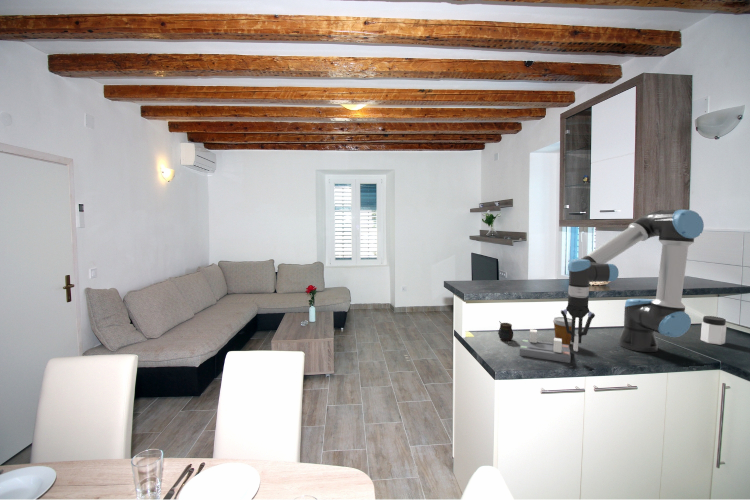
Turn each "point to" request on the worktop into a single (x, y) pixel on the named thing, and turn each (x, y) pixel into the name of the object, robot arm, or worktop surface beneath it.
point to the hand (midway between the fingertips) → (575, 350)
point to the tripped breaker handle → (557, 345)
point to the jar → (713, 330)
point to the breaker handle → (533, 335)
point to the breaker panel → (544, 351)
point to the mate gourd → (505, 331)
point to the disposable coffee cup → (562, 329)
